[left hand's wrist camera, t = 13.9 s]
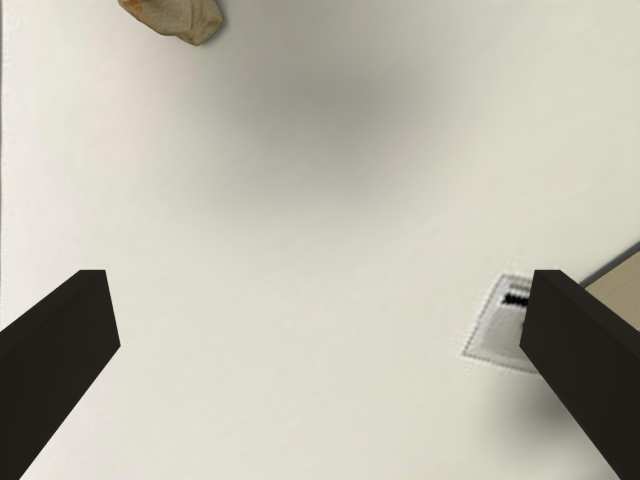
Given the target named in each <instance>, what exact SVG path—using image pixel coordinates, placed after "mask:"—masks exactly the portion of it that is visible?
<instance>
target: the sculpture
mask: <svg viewBox="0 0 640 480" xmlns="http://www.w3.org/2000/svg"><path fill="white" fill-rule="evenodd" d="M118 3H119V4H120V6H121V7H122V8H124V9H125V10H126V11H127V12H128V13H130V14H131V15H132V16H133V17H135V18H136V19H137V20H138V21H140V22H142V23H143V24H145V25H147V26H148V27H149V28H151V29H153V30H154V31H155V32H157V33H159V34H161V35H165V36H175V35H176V36H177V37H178V38H180V39H182V40H183V41H185V42H187V43H189V44H192V45H194V46H199V45H200V44H202V43H203V42H205V41H206V40H207V39H208V38H209V37H211V36H212V35H213V34H214V33H215V32H216V31H217V30H218V29H219V27H220V26H221V24H222V21H223V20H224V18H223V15H222V14H221V12H220V10H219V9H218V7H217V4H216V2H215V0H118Z"/></svg>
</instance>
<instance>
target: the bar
mask: <svg viewBox="0 0 640 480" xmlns="http://www.w3.org/2000/svg"><path fill="white" fill-rule="evenodd" d="M585 290H586V291H588V292H589V293H590V294H592V295H593V296H594V297H595V298H597V299H598V300H599V301H601V302H602V303H603V304H604V305H606V306H607V307H608V308H610V309H611V310H612V311H613V312H615V313H616V314H617V315H619V316H620V317H621V318H622V319H624V320H625V321H626V322H628V323H629V324H630V325H631V326H633V327H634V328H635V329H637V330H638V331H639V332H640V251H638V252H637V253H636V254H634V255H633V256H631V257H630V258H628V259H627V260H625V261H624V262H622V263H621V264H620V265H618V266H617V267H615V268H614V269H612V270H611V271H609V272H608V273H607V274H605V275H604V276H602V277H601V278H599V279H598V280H596V281H595V282H593V283H592V284H591V285H589V286H588V287H586V288H585Z"/></svg>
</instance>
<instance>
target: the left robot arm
mask: <svg viewBox="0 0 640 480" xmlns="http://www.w3.org/2000/svg"><path fill="white" fill-rule="evenodd" d="M120 346H121V345H120V340H119V335H118V330H117V325H116V320H115V315H114V311H113V306H112V301H111V296H110V291H109V286H108V281H107V276H106V271H105V270H79V271H78V272H77V273H75V274H74V275H73V276H72V277H70V278H69V279H68V280H66V281H65V282H64V283H63V284H61V285H60V286H59V287H57V288H56V289H55V290H54V291H52V292H51V293H50V294H48V295H47V296H46V297H45V298H43V299H42V300H41V301H39V302H38V303H37V304H36V305H34V306H33V307H32V308H30V309H29V310H28V311H27V312H25V313H24V314H23V315H21V316H20V317H19V318H18V319H16V320H15V321H14V322H12V323H11V324H10V325H9V326H7V327H6V328H5V329H3V330H2V331H1V332H0V480H19V479H20V478H21V477H22V475H23V474H24V473H25V471H26V470H27V469H28V467H29V466H30V465H31V464H32V462H33V461H34V460H35V458H36V457H37V456H38V454H39V453H40V452H41V450H42V449H43V448H44V446H45V445H46V444H47V442H48V441H49V440H50V438H51V437H52V436H53V435H54V433H55V432H56V431H57V429H58V428H59V427H60V425H61V424H62V423H63V421H64V420H65V419H66V417H67V416H68V415H69V413H70V412H71V411H72V409H73V408H74V407H75V406H76V404H77V403H78V402H79V400H80V399H81V398H82V396H83V395H84V394H85V392H86V391H87V390H88V388H89V387H90V386H91V384H92V383H93V382H94V380H95V379H96V378H97V377H98V375H99V374H100V373H101V371H102V370H103V369H104V367H105V366H106V365H107V363H108V362H109V361H110V359H111V358H112V357H113V355H114V354H115V353H116V351H117V350H118V349H119V348H120ZM519 346H520V348H521V349H522V350H523V351H524V353H525V354H526V355H527V357H528V358H529V359H530V361H531V362H532V363H533V365H534V366H535V367H536V369H537V370H538V371H539V373H540V374H541V375H542V377H543V378H544V379H545V380H546V382H547V383H548V384H549V386H550V387H551V388H552V390H553V391H554V392H555V394H556V395H557V396H558V398H559V399H560V400H561V402H562V403H563V404H564V406H565V407H566V408H567V409H568V411H569V412H570V413H571V415H572V416H573V417H574V419H575V420H576V421H577V423H578V424H579V425H580V427H581V428H582V429H583V431H584V432H585V433H586V435H587V436H588V437H589V438H590V440H591V441H592V442H593V444H594V445H595V446H596V448H597V449H598V450H599V452H600V453H601V454H602V456H603V457H604V458H605V460H606V461H607V462H608V464H609V465H610V466H611V467H612V469H613V470H614V471H615V473H616V474H617V475H618V477H619V478H620V479H621V480H640V332H639V331H638V330H637V329H635V328H634V327H633V326H631V325H630V324H629V323H628V322H626V321H625V320H624V319H622V318H621V317H620V316H619V315H617V314H616V313H615V312H613V311H612V310H611V309H610V308H608V307H607V306H606V305H604V304H603V303H602V302H601V301H599V300H598V299H597V298H595V297H594V296H593V295H592V294H590V293H589V292H588V291H586V290H585V289H584V288H583V287H581V286H580V285H579V284H577V283H576V282H575V281H574V280H572V279H571V278H570V277H568V276H567V275H566V274H565V273H563V272H562V271H561V270H535V271H534V276H533V281H532V286H531V291H530V296H529V301H528V306H527V311H526V315H525V320H524V325H523V330H522V335H521V340H520V345H519Z"/></svg>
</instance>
